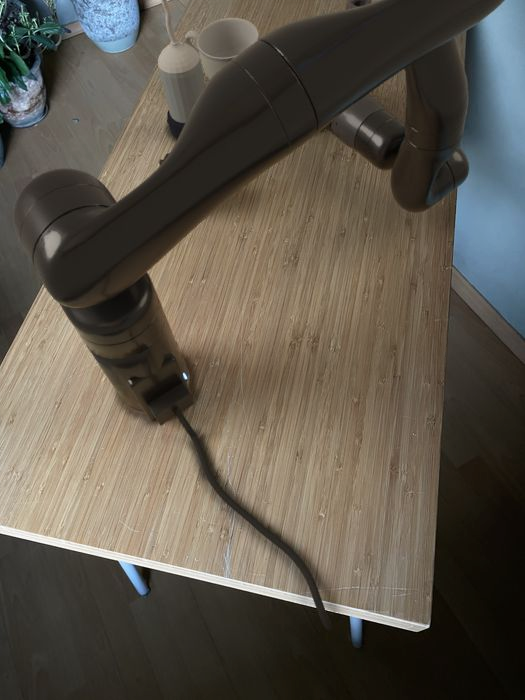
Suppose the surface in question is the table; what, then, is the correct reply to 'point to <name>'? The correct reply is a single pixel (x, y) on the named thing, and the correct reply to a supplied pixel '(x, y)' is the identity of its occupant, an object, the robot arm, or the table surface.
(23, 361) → the table surface
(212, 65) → the teacup
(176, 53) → the humidifier
